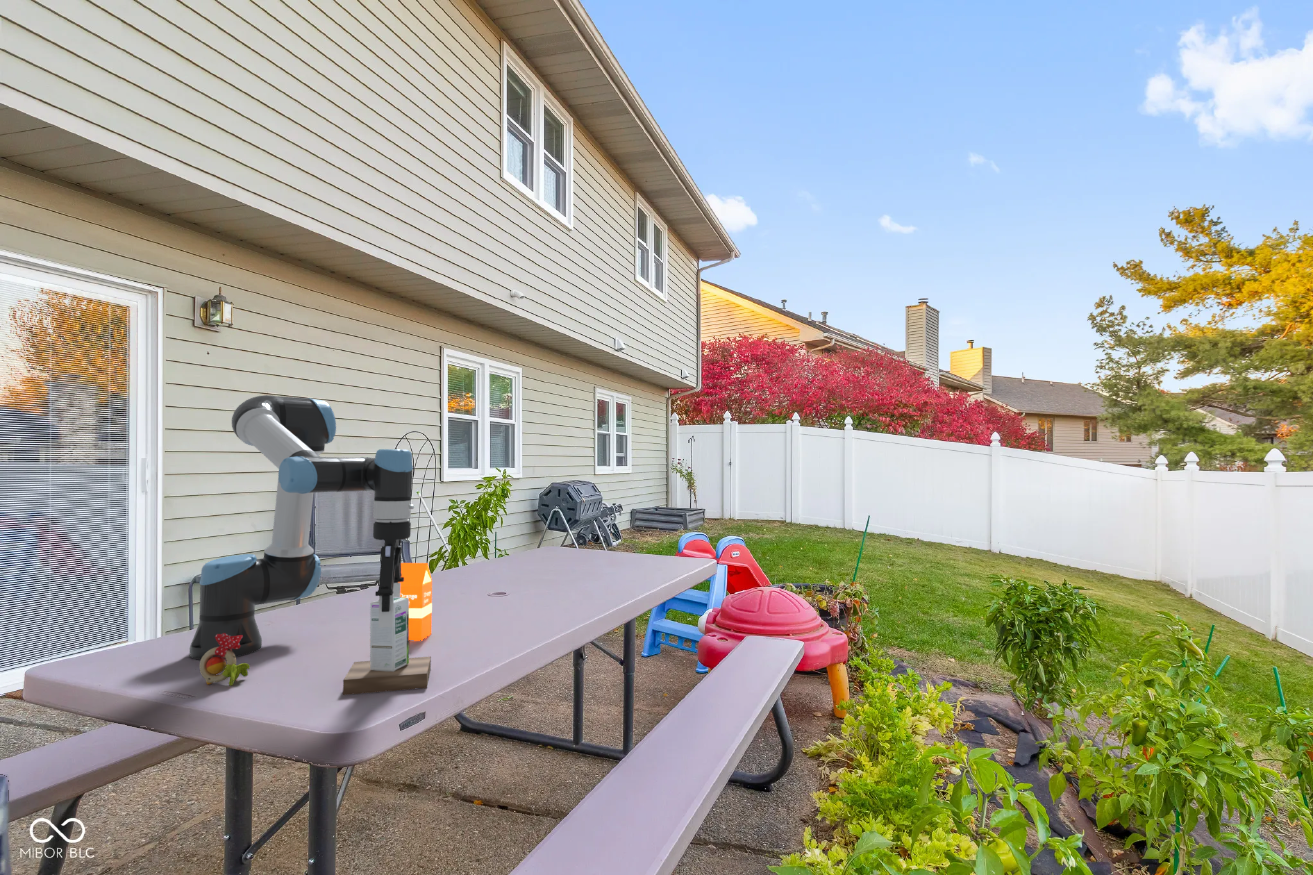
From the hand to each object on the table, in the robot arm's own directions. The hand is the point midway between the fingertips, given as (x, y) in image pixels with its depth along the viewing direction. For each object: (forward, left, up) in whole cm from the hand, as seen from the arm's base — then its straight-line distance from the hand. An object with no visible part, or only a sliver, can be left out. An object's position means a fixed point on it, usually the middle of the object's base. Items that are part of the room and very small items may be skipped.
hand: (389, 619), depth 144 cm
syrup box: (0, 0, -10) cm, 10 cm away
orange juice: (-39, +1, -13) cm, 41 cm away
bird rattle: (-8, -34, -13) cm, 37 cm away
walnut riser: (0, 0, -13) cm, 13 cm away
